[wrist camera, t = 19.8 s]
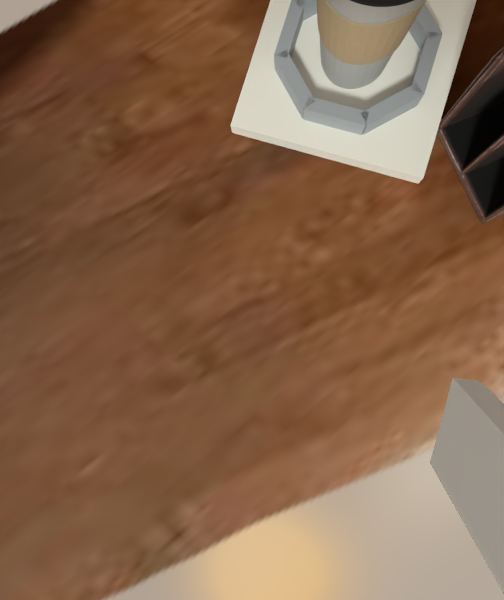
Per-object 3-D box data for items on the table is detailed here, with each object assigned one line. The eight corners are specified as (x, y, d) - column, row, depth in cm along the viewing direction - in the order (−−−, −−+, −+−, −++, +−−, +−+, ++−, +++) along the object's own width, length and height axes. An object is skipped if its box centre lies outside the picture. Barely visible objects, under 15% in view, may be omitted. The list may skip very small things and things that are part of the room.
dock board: (232, 132, 43) (227, 115, 39) (287, -42, 44) (288, -74, 40) (418, 183, 41) (430, 170, 38) (472, 2, 42) (489, -28, 39)
